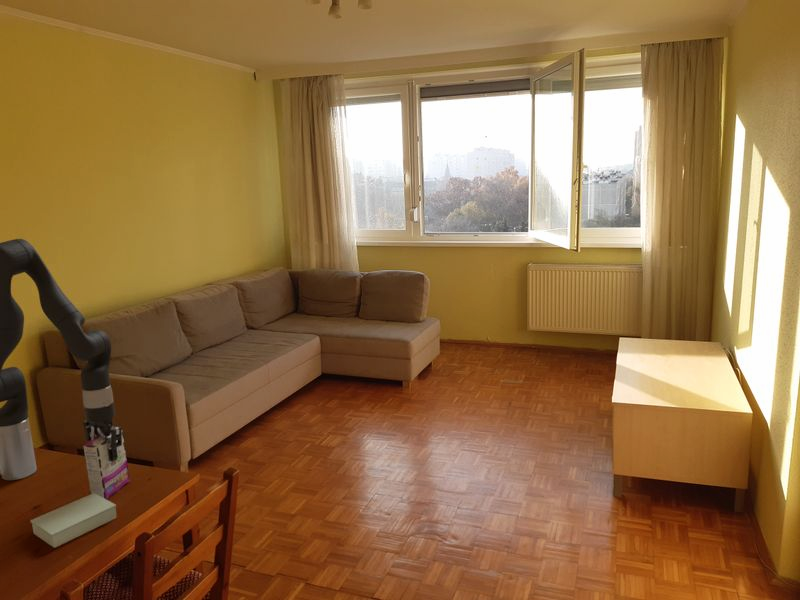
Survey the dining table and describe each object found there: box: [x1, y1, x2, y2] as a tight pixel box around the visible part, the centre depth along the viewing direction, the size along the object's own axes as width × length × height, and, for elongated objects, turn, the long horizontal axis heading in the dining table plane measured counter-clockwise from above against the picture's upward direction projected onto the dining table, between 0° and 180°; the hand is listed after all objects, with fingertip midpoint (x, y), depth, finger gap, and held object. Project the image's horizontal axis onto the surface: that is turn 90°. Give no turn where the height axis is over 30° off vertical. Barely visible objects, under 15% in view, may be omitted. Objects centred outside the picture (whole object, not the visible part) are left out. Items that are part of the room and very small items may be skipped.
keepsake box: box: [30, 493, 118, 548], centre depth 159 cm, size 16×11×4 cm
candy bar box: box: [82, 430, 131, 500], centre depth 175 cm, size 11×5×16 cm, turn 168°
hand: (106, 457), depth 175 cm, fingers closed on candy bar box, 6 cm apart
